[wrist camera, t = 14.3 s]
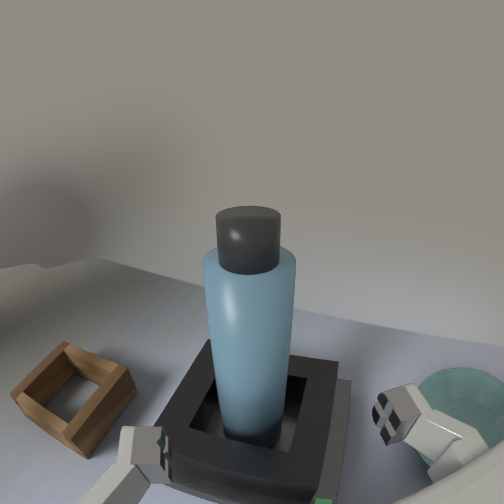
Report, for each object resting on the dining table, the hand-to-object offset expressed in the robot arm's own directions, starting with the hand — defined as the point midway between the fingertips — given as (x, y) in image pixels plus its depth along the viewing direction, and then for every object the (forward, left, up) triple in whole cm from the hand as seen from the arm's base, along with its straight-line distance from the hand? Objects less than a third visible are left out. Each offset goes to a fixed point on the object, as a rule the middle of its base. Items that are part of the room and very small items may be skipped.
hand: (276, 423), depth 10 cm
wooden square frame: (-17, +2, -11) cm, 20 cm away
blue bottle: (-3, +5, -9) cm, 11 cm away
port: (-3, +5, -11) cm, 12 cm away
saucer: (+14, +7, -11) cm, 20 cm away
